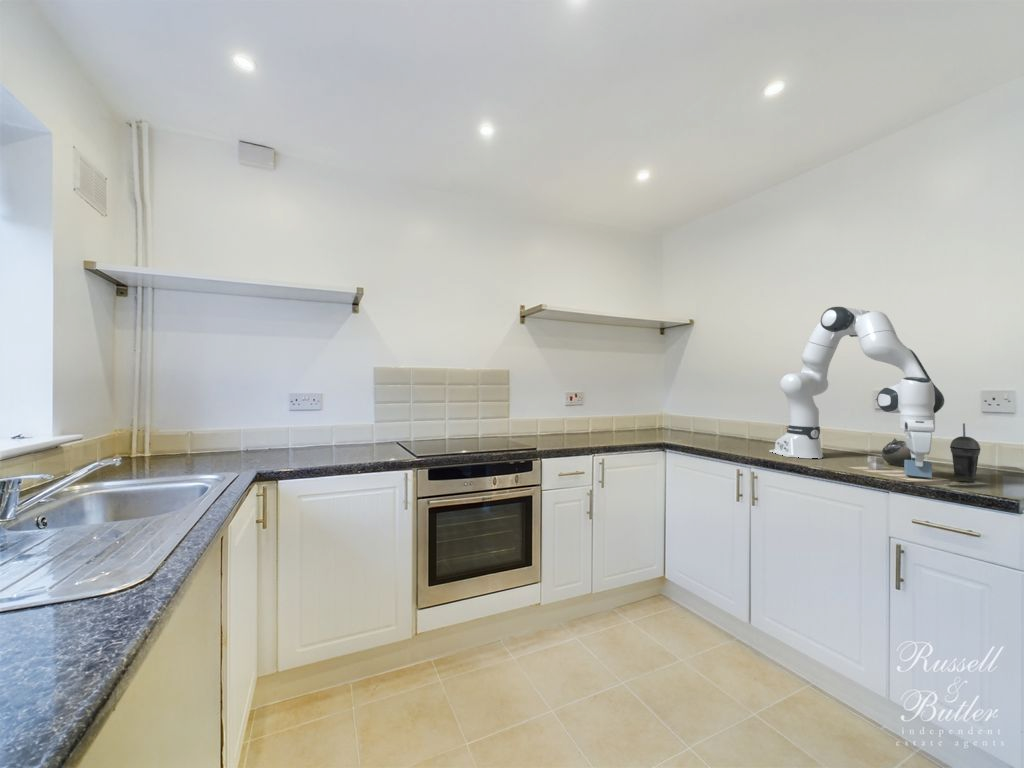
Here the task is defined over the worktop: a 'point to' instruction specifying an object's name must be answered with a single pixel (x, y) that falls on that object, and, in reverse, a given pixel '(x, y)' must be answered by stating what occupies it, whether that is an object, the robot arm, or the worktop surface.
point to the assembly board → (898, 473)
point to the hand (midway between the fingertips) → (917, 464)
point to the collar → (918, 469)
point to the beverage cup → (965, 457)
